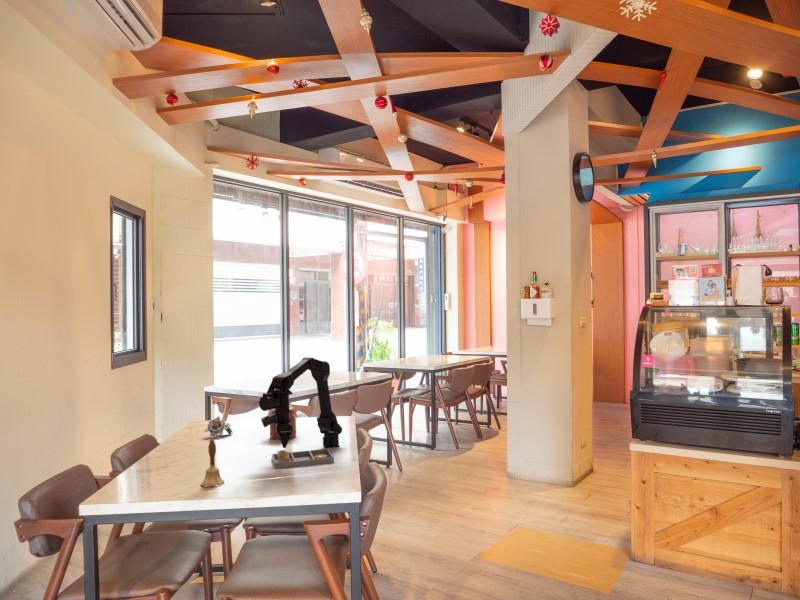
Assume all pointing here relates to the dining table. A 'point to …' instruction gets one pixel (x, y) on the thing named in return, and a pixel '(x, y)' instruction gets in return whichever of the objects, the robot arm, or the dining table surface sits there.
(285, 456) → the letter cube
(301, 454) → the organizer tray
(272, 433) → the canister
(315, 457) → the peach egg shape
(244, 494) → the dining table surface
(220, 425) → the passion flower
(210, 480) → the hand bell
